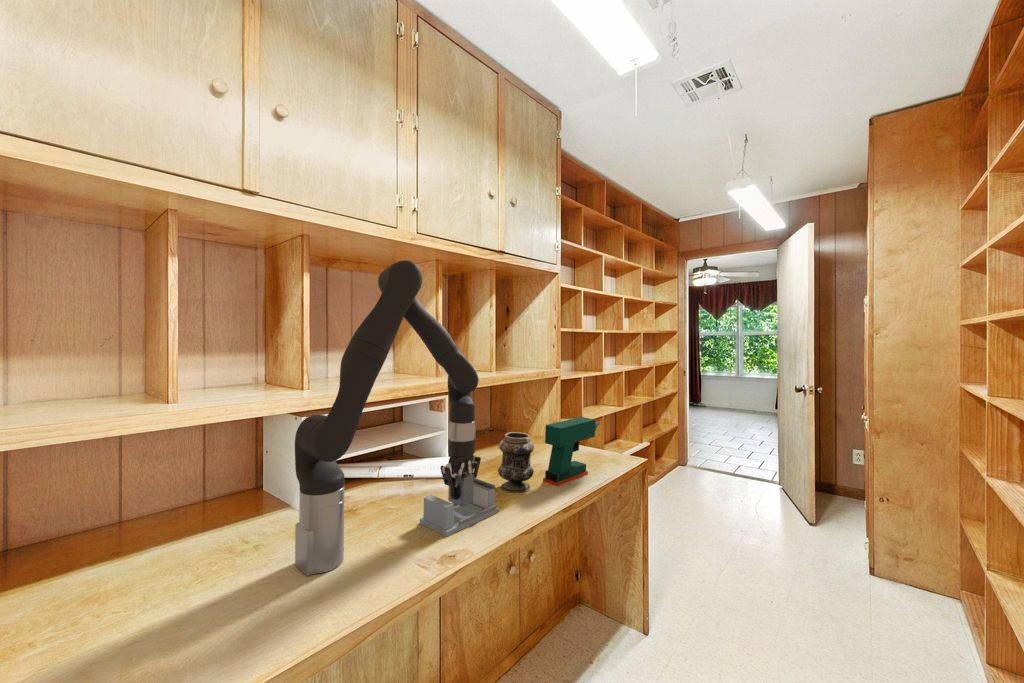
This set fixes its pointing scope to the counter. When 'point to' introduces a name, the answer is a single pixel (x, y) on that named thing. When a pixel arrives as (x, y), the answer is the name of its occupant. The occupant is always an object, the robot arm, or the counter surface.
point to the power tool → (567, 449)
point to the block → (464, 490)
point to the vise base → (452, 515)
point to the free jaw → (483, 493)
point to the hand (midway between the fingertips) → (460, 496)
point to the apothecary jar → (516, 462)
